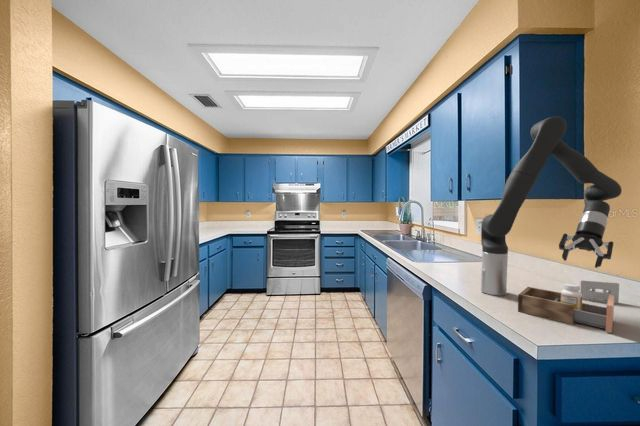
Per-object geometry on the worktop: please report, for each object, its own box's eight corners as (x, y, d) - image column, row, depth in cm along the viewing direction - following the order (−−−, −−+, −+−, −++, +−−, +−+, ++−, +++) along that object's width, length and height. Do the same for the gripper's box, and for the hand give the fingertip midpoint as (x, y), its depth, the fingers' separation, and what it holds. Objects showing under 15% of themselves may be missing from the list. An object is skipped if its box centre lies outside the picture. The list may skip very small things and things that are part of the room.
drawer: (613, 319, 94) (614, 295, 94) (611, 333, 84) (612, 306, 84) (556, 307, 105) (557, 285, 104) (549, 318, 95) (550, 294, 95)
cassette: (580, 300, 114) (581, 280, 114) (578, 298, 116) (579, 279, 116) (619, 303, 110) (620, 283, 110) (616, 302, 112) (617, 282, 112)
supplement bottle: (571, 310, 99) (572, 282, 99) (586, 316, 94) (587, 287, 94) (556, 310, 99) (557, 282, 99) (570, 316, 94) (571, 287, 93)
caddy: (578, 313, 100) (578, 296, 100) (572, 324, 91) (573, 305, 91) (527, 302, 111) (527, 286, 111) (517, 311, 102) (518, 294, 101)
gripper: (566, 217, 111) (554, 252, 106) (619, 224, 100) (608, 264, 96) (567, 227, 116) (555, 262, 111) (617, 235, 105) (606, 274, 100)
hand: (580, 263), depth 103 cm, fingers open, 8 cm apart
